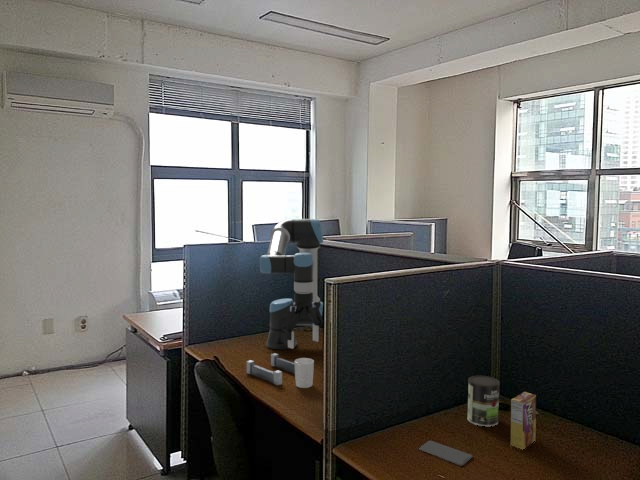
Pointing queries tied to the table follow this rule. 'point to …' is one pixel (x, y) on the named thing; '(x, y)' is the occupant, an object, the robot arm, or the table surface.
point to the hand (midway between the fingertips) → (303, 344)
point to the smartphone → (446, 452)
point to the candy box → (523, 420)
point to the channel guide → (270, 375)
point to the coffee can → (483, 400)
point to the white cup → (304, 372)
